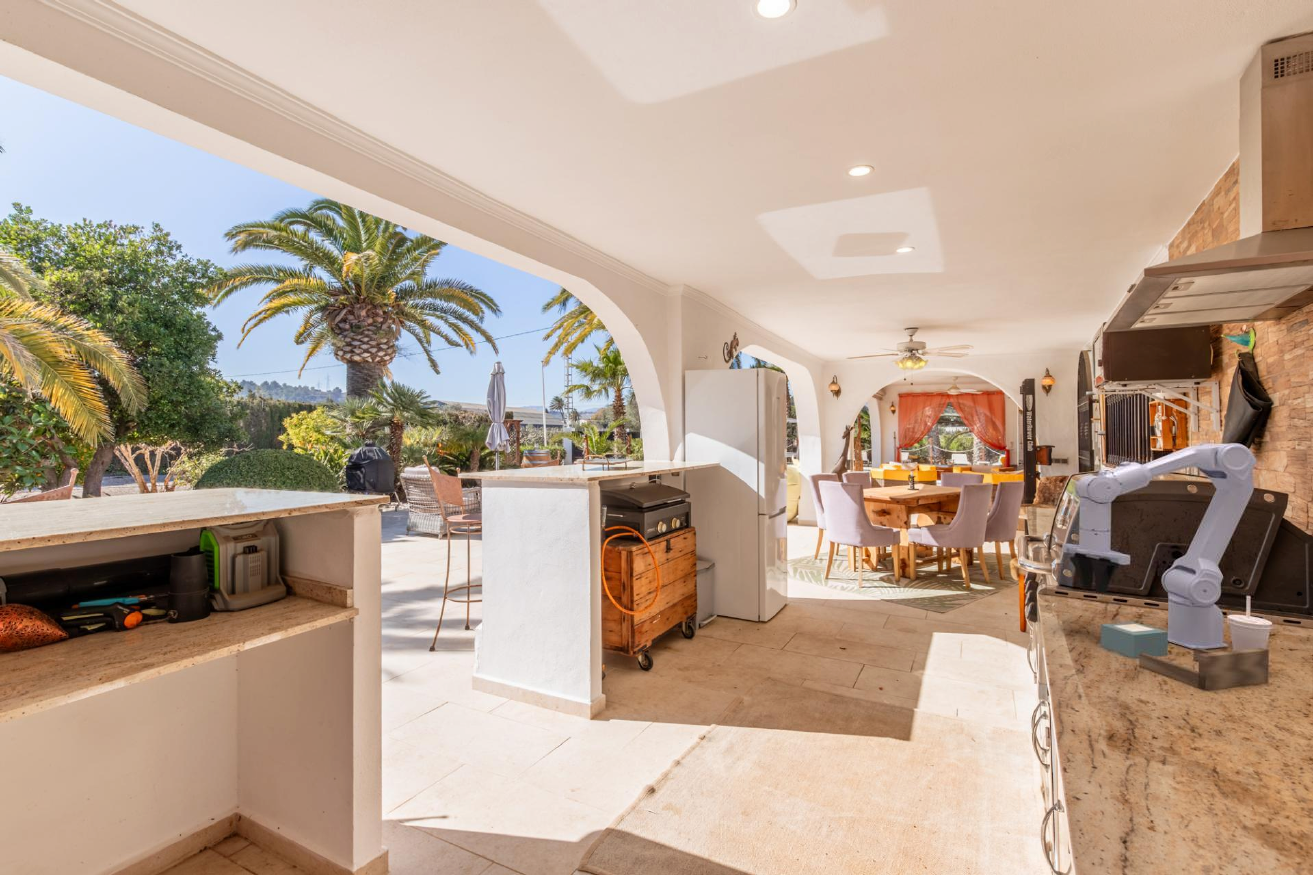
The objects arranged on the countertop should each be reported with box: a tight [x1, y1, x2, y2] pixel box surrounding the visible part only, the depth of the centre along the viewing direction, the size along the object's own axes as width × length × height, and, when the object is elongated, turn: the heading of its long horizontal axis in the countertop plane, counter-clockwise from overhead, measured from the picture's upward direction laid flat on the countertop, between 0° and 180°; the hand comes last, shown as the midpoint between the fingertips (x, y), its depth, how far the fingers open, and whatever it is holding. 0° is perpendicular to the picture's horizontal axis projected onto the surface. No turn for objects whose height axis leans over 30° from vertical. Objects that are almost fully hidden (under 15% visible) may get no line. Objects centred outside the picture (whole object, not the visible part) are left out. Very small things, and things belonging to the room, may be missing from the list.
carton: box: [1100, 621, 1169, 660], centre depth 129 cm, size 9×7×5 cm
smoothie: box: [1226, 595, 1274, 651], centre depth 119 cm, size 6×6×14 cm
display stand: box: [1138, 647, 1270, 691], centre depth 116 cm, size 15×12×6 cm
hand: (1093, 590), depth 138 cm, fingers open, 3 cm apart
